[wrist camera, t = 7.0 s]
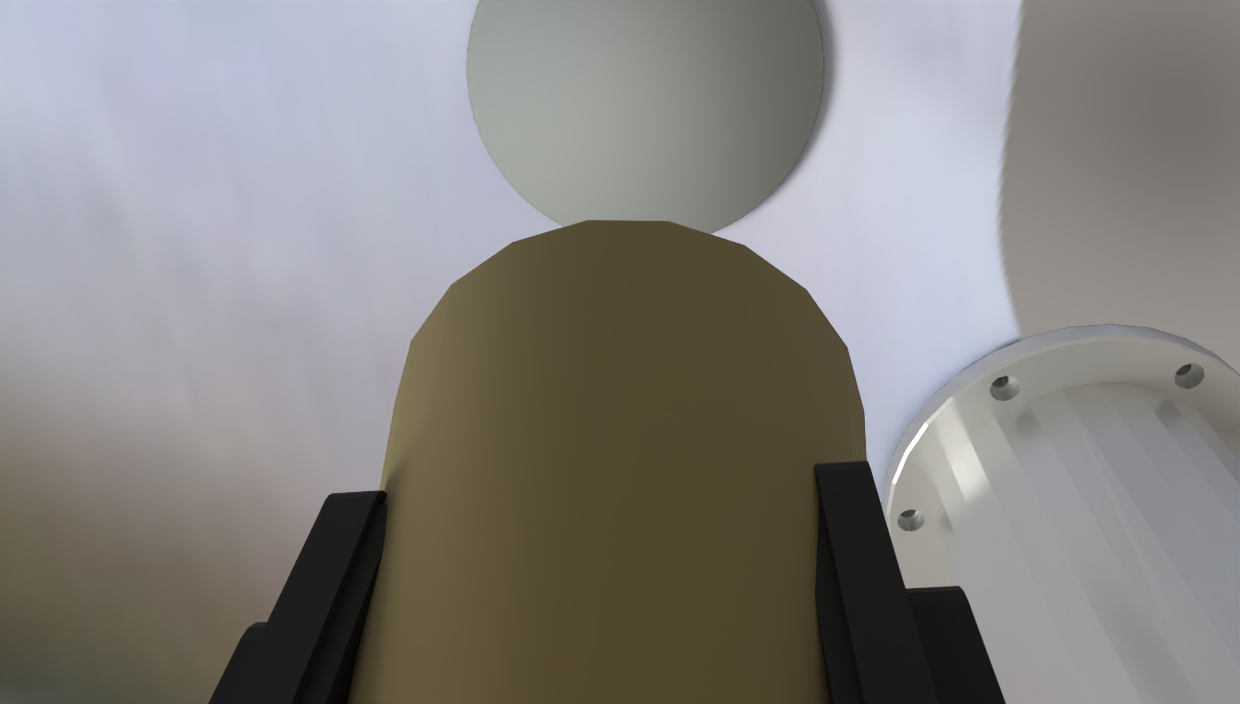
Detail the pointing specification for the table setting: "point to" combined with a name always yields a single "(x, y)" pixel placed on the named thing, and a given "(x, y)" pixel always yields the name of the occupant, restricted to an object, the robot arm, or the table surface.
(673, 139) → the pad
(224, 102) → the table surface
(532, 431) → the cork
